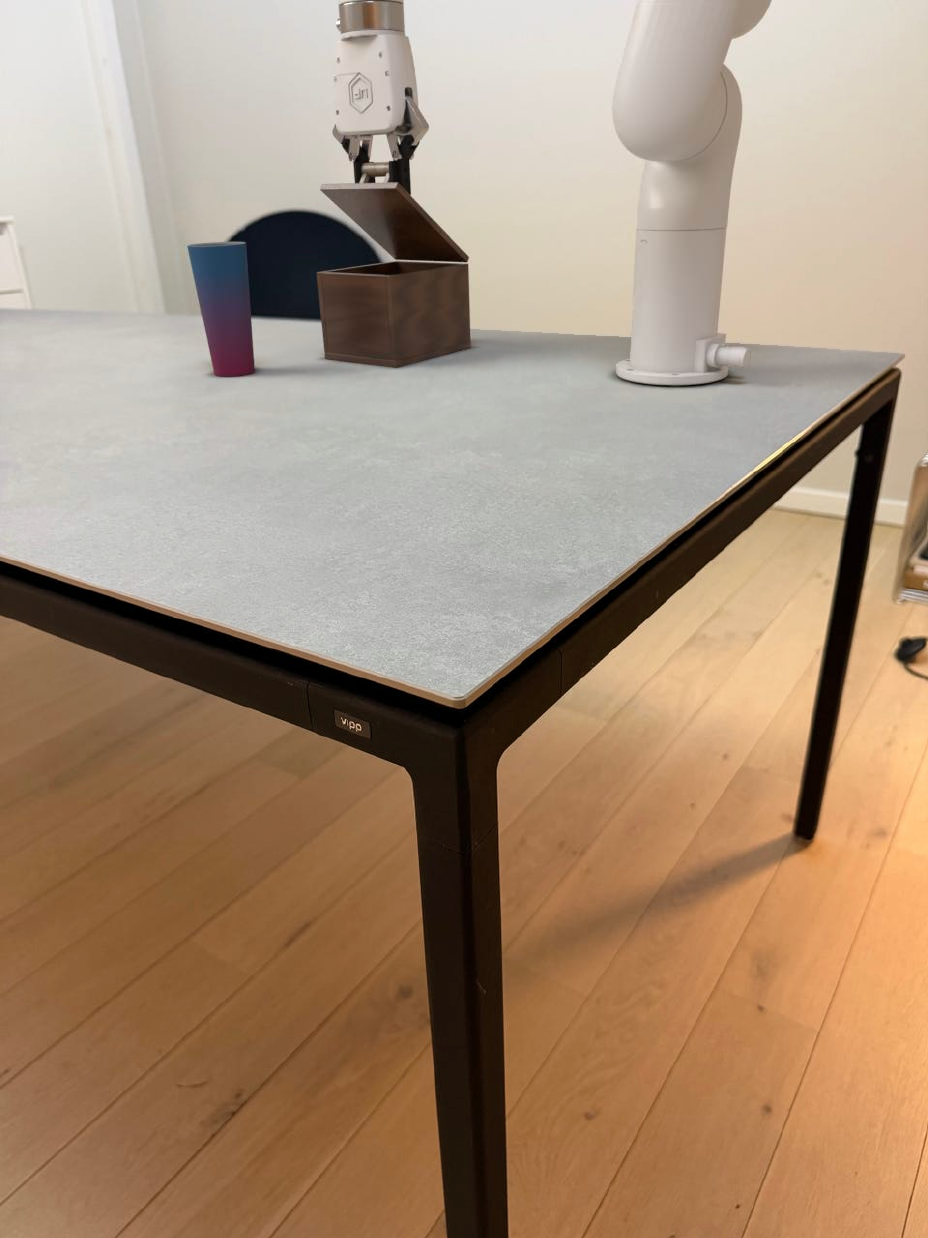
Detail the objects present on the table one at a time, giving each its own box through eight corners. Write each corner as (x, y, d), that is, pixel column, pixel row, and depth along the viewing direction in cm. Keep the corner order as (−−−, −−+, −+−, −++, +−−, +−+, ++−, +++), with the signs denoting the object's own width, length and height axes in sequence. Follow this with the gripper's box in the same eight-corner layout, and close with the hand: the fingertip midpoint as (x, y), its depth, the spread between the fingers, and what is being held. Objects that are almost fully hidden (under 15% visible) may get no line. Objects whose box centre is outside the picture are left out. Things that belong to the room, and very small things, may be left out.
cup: (196, 377, 113) (176, 246, 107) (222, 366, 119) (204, 241, 113) (247, 378, 112) (229, 245, 105) (271, 367, 118) (255, 241, 111)
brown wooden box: (396, 367, 115) (390, 275, 110) (324, 358, 122) (316, 272, 117) (470, 347, 126) (468, 263, 121) (401, 340, 133) (396, 260, 128)
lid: (395, 188, 107) (409, 148, 108) (319, 189, 114) (332, 152, 115) (467, 262, 121) (479, 227, 121) (395, 259, 128) (406, 226, 128)
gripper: (297, 30, 109) (313, 198, 117) (406, 12, 99) (416, 197, 107) (342, 35, 114) (354, 196, 122) (450, 19, 105) (455, 195, 113)
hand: (383, 195), depth 115 cm, fingers closed on lid, 5 cm apart
